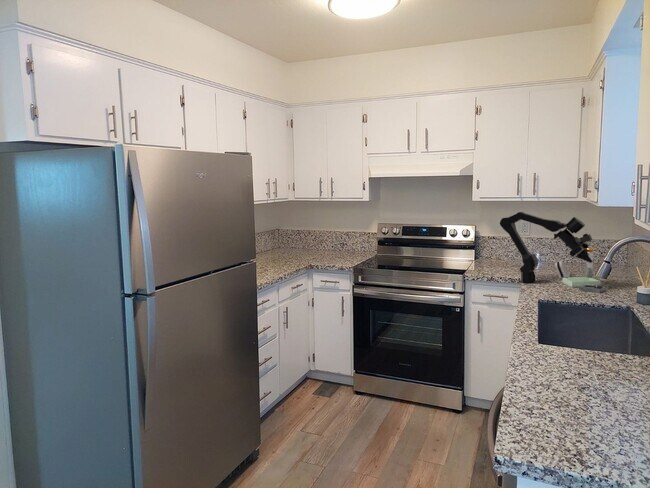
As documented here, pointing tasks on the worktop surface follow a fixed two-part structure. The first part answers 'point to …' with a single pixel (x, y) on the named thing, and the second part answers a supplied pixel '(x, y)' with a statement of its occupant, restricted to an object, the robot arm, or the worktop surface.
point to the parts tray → (580, 281)
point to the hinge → (561, 269)
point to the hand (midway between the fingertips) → (592, 261)
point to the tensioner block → (592, 288)
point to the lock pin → (589, 265)
